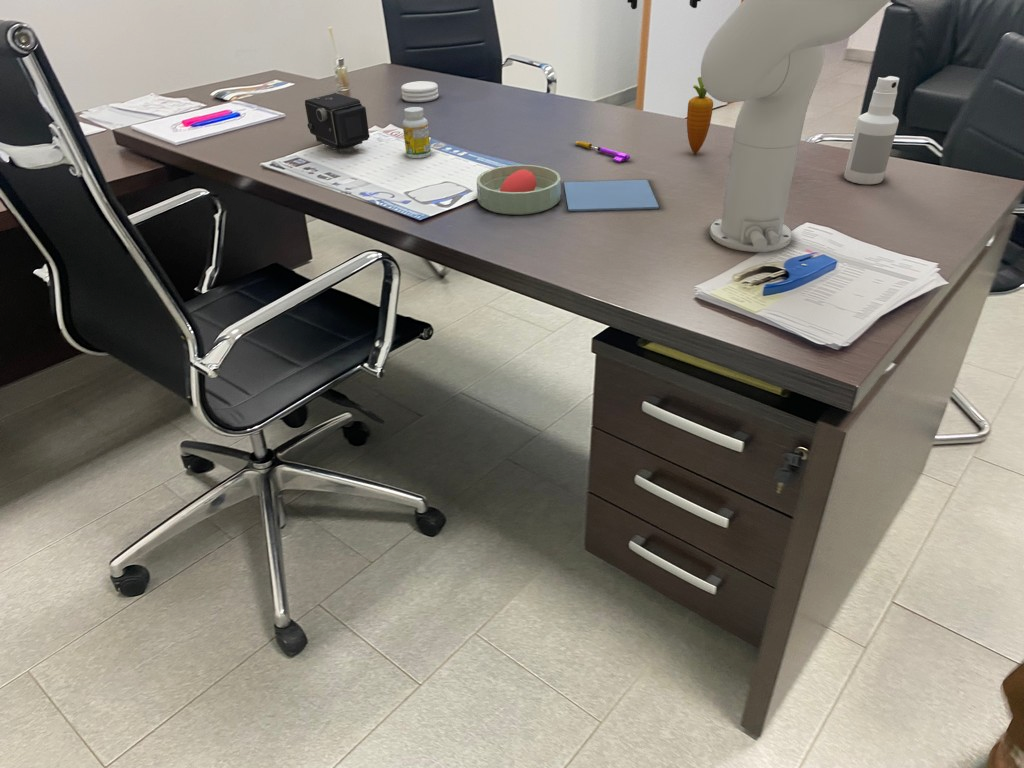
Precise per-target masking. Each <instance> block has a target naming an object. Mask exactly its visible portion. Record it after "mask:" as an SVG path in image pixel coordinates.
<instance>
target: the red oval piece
mask: <svg viewBox="0 0 1024 768" xmlns="http://www.w3.org/2000/svg"><path fill="white" fill-rule="evenodd" d="M535 187H536V178H535V176H534V174H533V173H532V172H530V171H528V170H524V169H523V170H518V171H516V172H514V173H513V174H511V175H510V176H509V177H508V178H507V179H506V180H505V181H504V183H503V184H502V186H501V188H500V191H502V192H529V191H534V189H535Z"/></svg>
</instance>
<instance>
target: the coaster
mask: <svg viewBox="0 0 1024 768" xmlns="http://www.w3.org/2000/svg"><path fill="white" fill-rule="evenodd" d="M400 90H401V95H402V96H401V99H402V100H403V101H405V102H409V103H426V102H431V101H435V100H437V99H438V98H439V89H438V83H436V82H434V81H428V80H419V81H418V80H417V81H416V80H415V81H410V82H407V83H403V84H402V85H401V87H400Z"/></svg>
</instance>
